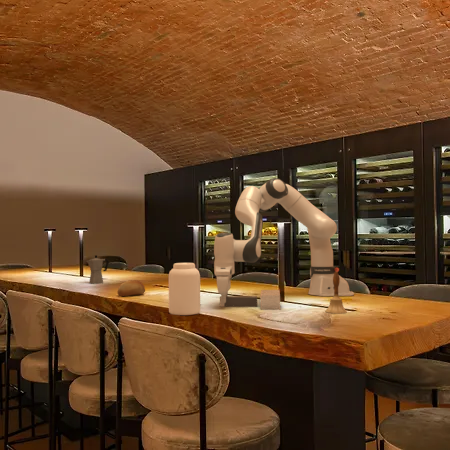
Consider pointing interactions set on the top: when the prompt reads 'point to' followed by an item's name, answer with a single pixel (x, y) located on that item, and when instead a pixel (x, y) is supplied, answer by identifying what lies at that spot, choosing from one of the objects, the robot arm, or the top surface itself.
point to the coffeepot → (96, 269)
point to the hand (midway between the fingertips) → (224, 301)
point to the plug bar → (239, 301)
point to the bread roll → (131, 288)
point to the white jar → (184, 289)
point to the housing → (270, 300)
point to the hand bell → (336, 298)
